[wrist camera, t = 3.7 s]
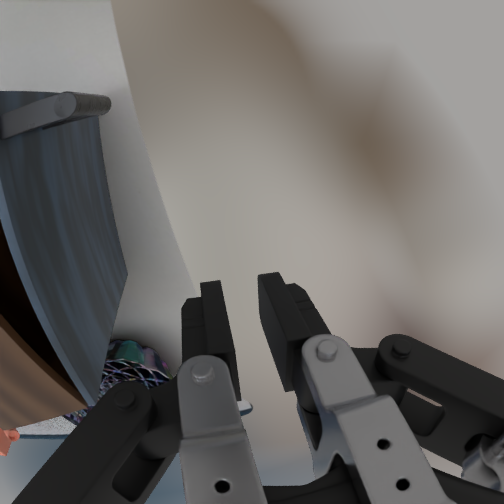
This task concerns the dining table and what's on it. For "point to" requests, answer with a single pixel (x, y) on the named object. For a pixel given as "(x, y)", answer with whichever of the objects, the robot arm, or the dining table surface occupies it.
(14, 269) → the cupboard
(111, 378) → the decorative bowl
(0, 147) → the cupboard door
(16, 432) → the teapot
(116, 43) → the dining table surface
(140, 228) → the dining table surface
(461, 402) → the robot arm
